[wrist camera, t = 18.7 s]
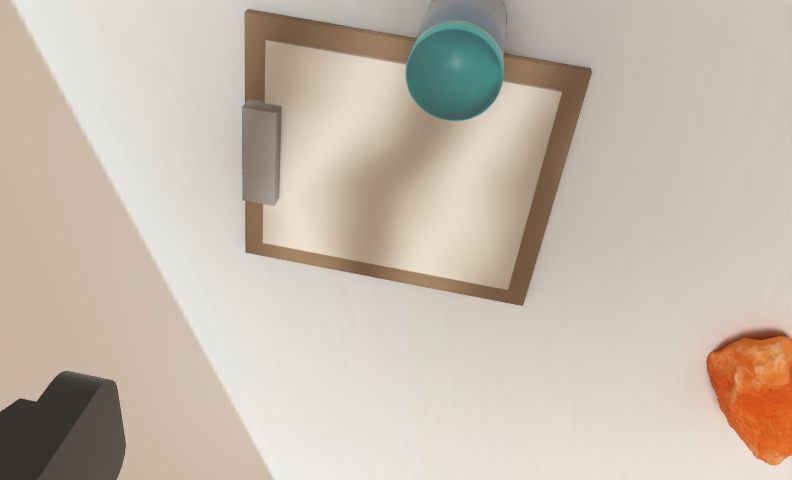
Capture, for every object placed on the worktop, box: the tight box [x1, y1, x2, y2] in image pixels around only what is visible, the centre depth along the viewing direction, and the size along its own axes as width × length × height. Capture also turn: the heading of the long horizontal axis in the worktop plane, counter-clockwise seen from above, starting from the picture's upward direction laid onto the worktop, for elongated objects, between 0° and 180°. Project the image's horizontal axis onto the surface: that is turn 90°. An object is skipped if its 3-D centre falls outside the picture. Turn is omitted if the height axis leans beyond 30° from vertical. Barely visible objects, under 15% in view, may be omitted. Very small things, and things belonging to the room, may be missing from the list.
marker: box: [405, 0, 507, 121], centre depth 27 cm, size 3×3×7 cm
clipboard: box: [242, 10, 592, 306], centre depth 34 cm, size 15×13×1 cm
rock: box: [707, 336, 792, 465], centre depth 37 cm, size 12×12×4 cm
